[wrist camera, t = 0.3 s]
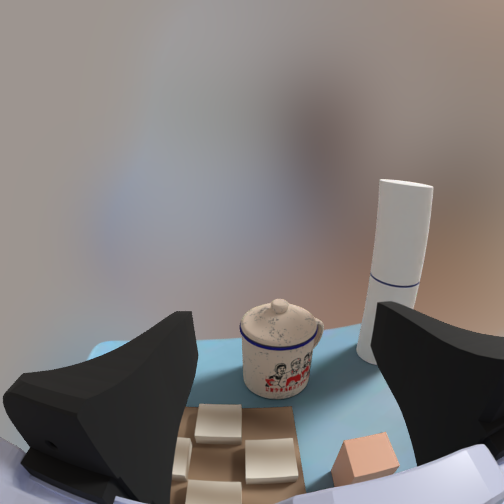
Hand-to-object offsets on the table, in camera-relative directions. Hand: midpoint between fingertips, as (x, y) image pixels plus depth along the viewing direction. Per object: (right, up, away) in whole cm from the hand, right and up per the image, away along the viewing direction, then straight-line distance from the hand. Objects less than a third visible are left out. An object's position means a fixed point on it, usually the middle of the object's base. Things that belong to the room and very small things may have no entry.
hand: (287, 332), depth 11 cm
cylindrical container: (+18, -12, +29) cm, 36 cm away
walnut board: (-5, -18, +12) cm, 22 cm away
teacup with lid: (+3, -14, +26) cm, 29 cm away
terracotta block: (+8, -19, +9) cm, 23 cm away
